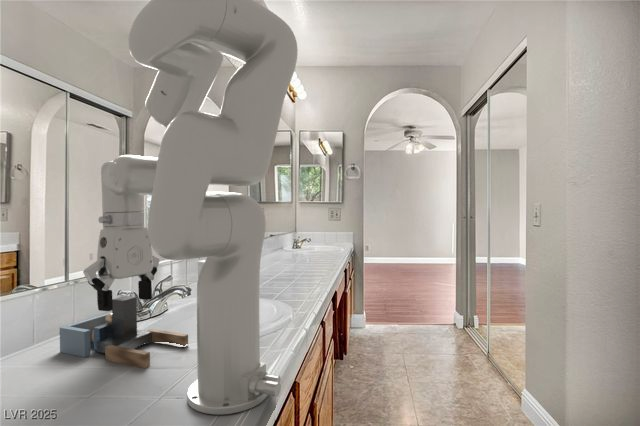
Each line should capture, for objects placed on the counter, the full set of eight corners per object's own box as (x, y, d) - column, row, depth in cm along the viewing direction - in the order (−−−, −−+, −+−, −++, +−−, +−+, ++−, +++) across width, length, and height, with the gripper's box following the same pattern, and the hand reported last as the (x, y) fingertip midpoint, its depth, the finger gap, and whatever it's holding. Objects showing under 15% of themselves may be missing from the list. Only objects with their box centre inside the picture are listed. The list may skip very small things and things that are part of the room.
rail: (188, 346, 79) (188, 334, 79) (144, 368, 68) (144, 354, 68) (151, 340, 83) (151, 328, 83) (105, 360, 72) (105, 347, 72)
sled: (151, 341, 81) (151, 294, 81) (118, 355, 73) (117, 304, 73) (124, 336, 84) (124, 291, 83) (89, 350, 76) (88, 300, 76)
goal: (136, 336, 85) (136, 314, 85) (84, 357, 74) (84, 331, 73) (113, 332, 88) (113, 311, 88) (60, 352, 76) (59, 327, 76)
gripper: (98, 222, 68) (101, 317, 68) (169, 219, 84) (171, 296, 84) (69, 223, 71) (72, 314, 71) (143, 220, 87) (146, 294, 87)
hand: (126, 304), depth 77 cm, fingers open, 9 cm apart
